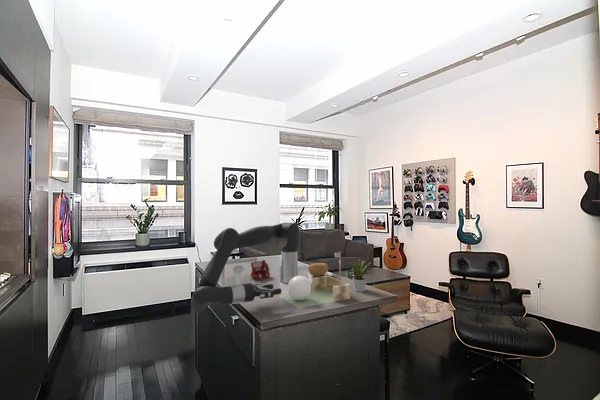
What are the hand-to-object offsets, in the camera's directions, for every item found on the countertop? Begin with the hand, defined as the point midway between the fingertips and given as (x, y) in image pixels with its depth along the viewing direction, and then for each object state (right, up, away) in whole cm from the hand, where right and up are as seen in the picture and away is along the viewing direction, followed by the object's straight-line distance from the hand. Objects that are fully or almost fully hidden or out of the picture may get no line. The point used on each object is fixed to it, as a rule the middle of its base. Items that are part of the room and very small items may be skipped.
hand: (276, 288), depth 141 cm
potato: (+21, -7, +52) cm, 57 cm away
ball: (+10, -1, +6) cm, 11 cm away
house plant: (+40, -7, +20) cm, 45 cm away
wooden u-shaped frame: (+26, -7, +14) cm, 30 cm away
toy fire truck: (-13, -7, +47) cm, 50 cm away
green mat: (+17, -7, +10) cm, 21 cm away
